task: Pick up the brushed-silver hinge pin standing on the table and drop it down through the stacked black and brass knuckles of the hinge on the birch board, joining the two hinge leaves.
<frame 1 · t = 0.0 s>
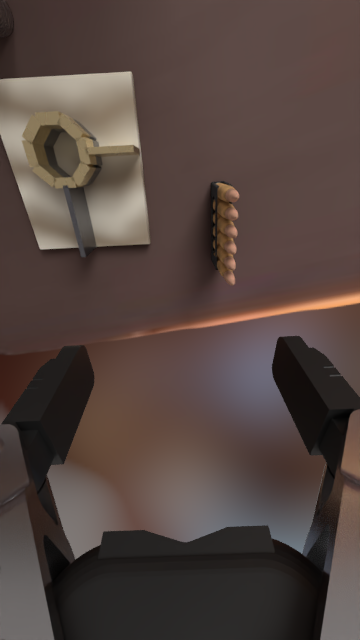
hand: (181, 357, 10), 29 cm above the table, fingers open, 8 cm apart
hinge: (82, 174, 32), on the table
ammunition clip: (217, 223, 35), on the table
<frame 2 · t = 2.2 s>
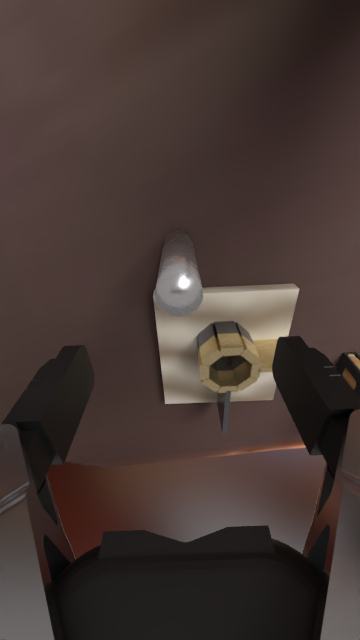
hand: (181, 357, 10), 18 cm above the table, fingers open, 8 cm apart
hinge pin: (178, 244, 25), on the table
hinge: (220, 348, 33), on the table
ammunition clip: (338, 378, 36), on the table
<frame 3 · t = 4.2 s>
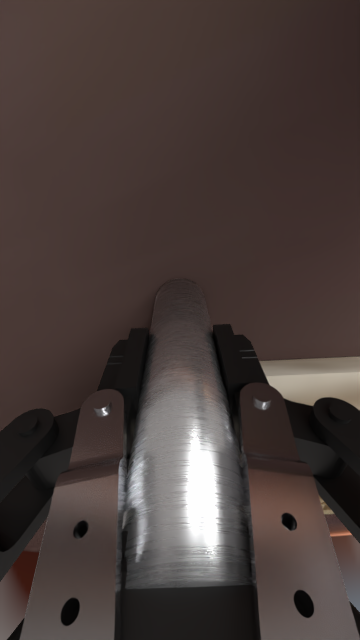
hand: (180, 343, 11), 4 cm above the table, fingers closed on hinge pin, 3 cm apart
hinge pin: (180, 301, 15), on the table, touching gripper
hinge: (242, 437, 22), on the table
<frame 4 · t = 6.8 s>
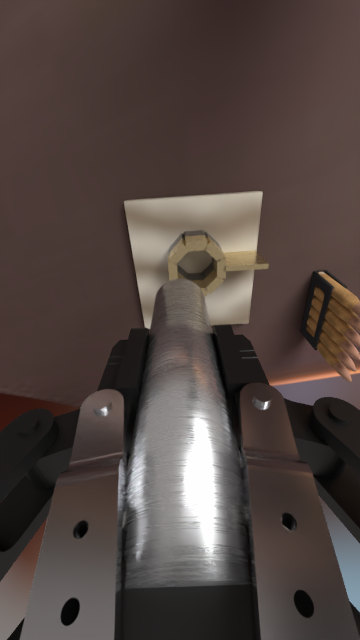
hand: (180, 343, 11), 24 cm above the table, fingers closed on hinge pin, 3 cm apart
hinge pin: (179, 301, 15), point 20 cm above the table, touching gripper
hinge: (194, 267, 34), on the table
ammunition clip: (311, 302, 37), on the table
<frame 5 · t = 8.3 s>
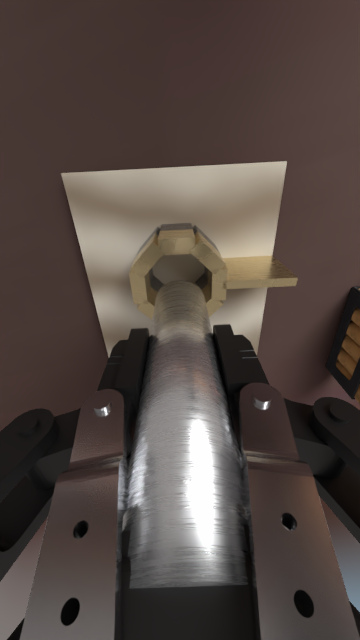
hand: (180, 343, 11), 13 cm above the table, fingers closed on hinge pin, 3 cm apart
hinge pin: (180, 302, 15), point 9 cm above the table, touching gripper
hinge: (179, 278, 23), on the table
ammunition clip: (344, 329, 27), on the table
when the fingers open (8 cm above the table, at t = 9.6 s): hinge pin drops 2 cm, resting on hinge.
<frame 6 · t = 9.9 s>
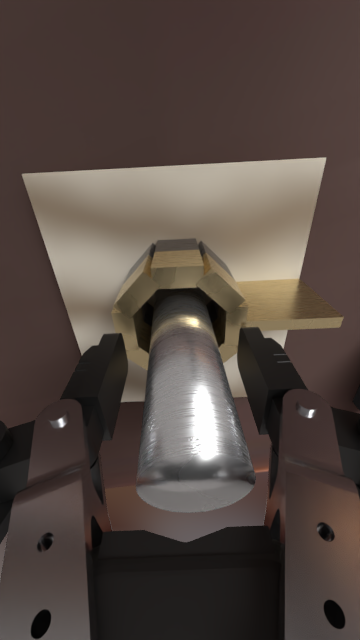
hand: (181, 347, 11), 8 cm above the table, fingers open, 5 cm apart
hinge pin: (178, 289, 16), point 2 cm above the table, touching hinge
hinge: (180, 304, 19), on the table
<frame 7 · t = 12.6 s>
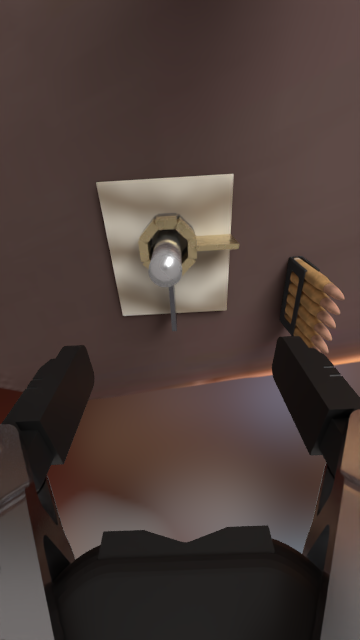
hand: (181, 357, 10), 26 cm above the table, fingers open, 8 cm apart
hinge pin: (168, 240, 32), point 2 cm above the table, touching hinge
hinge: (170, 252, 34), on the table
ammunition clip: (289, 290, 38), on the table
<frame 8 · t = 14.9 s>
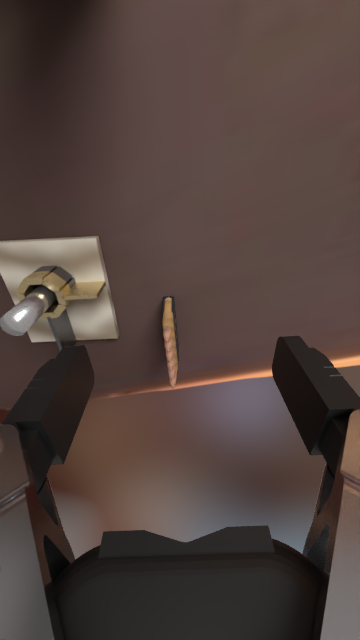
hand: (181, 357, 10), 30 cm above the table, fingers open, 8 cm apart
hinge pin: (55, 285, 39), point 2 cm above the table, touching hinge
hinge: (63, 292, 41), on the table
ammunition clip: (171, 321, 45), on the table
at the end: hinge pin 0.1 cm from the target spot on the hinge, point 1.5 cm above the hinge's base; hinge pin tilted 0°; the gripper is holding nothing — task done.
